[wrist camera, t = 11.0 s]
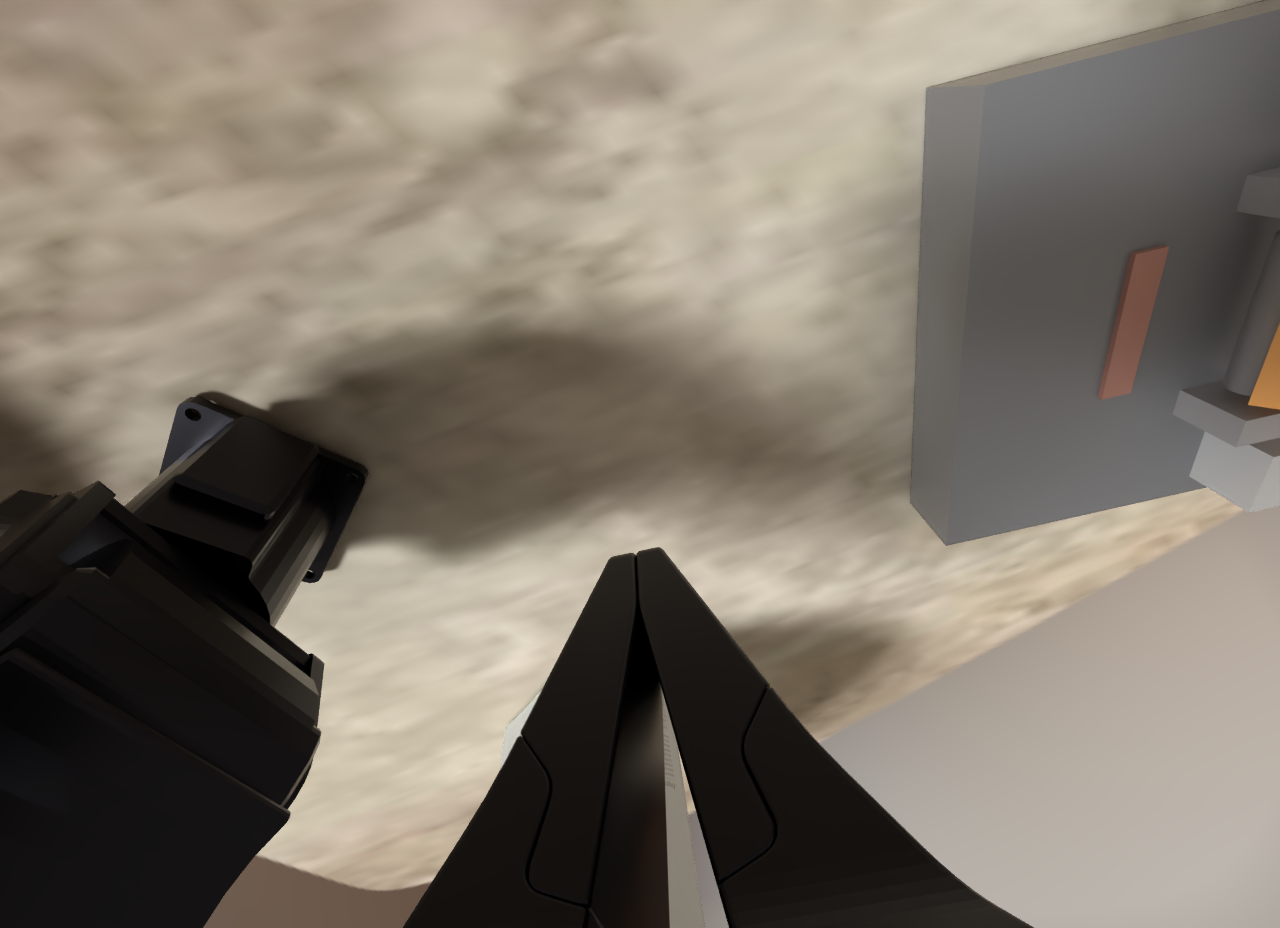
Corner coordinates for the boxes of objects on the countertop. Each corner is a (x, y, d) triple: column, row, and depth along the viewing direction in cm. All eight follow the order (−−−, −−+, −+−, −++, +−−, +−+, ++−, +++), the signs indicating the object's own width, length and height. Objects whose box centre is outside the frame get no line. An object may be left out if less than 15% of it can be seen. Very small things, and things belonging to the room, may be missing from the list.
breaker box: (910, 502, 26) (980, 587, 21) (926, 88, 18) (1048, 81, 13) (1227, 430, 25) (1368, 502, 21) (1402, -36, 17) (1707, -88, 12)
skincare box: (576, 639, 29) (572, 1053, 16) (674, 675, 31) (739, 1067, 18) (500, 732, 32) (448, 1135, 20) (593, 759, 34) (601, 1138, 22)
